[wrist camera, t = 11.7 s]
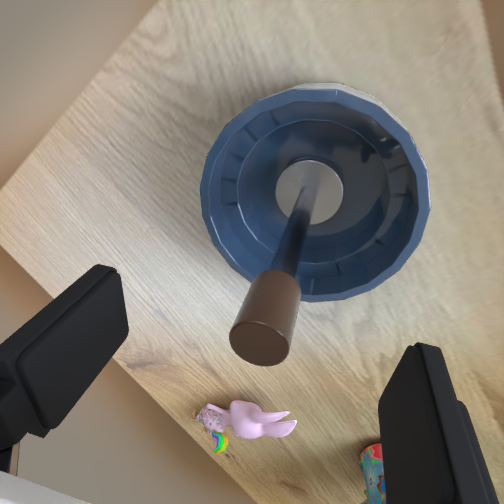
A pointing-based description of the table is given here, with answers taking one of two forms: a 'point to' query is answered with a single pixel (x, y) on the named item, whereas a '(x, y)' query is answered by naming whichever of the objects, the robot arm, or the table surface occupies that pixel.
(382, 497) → the mug
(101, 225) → the table surface
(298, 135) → the bowl
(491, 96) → the table surface
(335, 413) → the table surface
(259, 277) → the wood-topped metal stand
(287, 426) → the rabbit figure
